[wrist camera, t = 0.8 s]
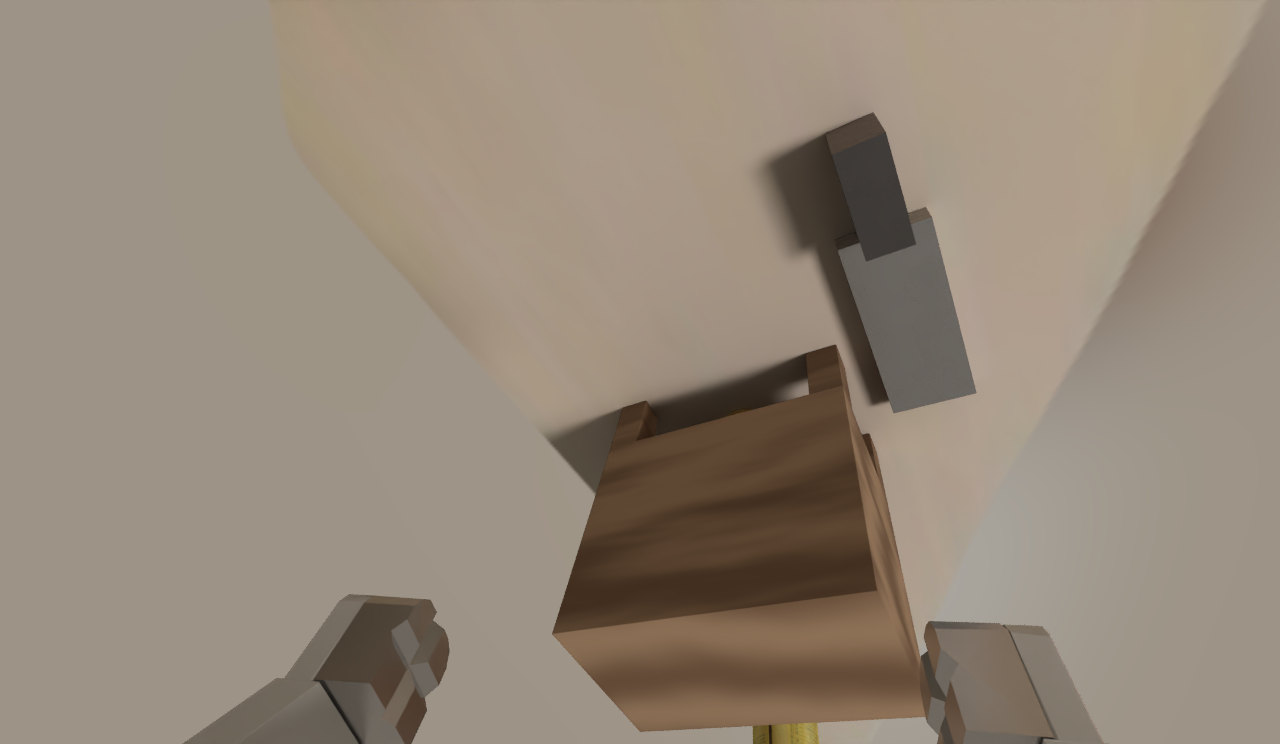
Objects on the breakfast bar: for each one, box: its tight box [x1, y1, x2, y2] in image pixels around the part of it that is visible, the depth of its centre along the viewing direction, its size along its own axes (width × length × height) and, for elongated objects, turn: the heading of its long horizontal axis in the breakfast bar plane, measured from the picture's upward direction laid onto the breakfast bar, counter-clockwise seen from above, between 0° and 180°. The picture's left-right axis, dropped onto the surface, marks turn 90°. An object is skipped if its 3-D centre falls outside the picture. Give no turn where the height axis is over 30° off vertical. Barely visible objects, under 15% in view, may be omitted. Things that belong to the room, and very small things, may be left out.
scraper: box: [825, 112, 976, 413], centre depth 34 cm, size 18×5×4 cm, turn 27°
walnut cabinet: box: [552, 345, 926, 732], centre depth 37 cm, size 11×16×18 cm
